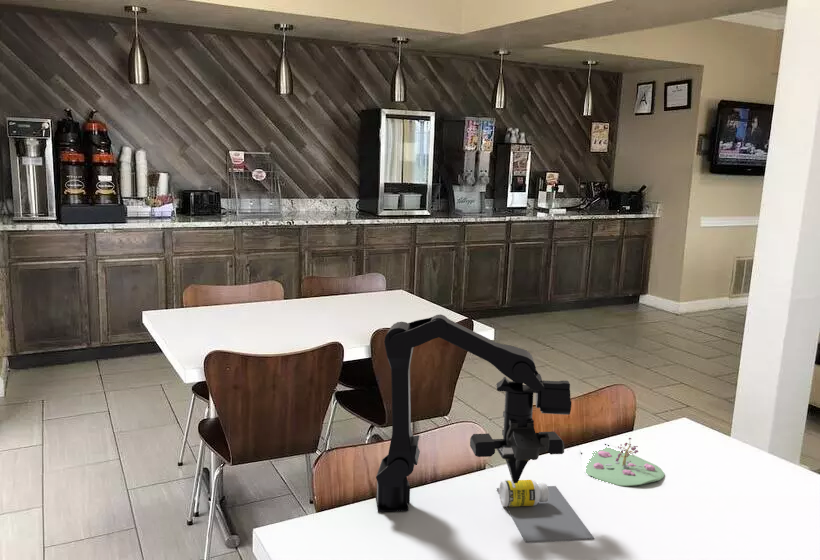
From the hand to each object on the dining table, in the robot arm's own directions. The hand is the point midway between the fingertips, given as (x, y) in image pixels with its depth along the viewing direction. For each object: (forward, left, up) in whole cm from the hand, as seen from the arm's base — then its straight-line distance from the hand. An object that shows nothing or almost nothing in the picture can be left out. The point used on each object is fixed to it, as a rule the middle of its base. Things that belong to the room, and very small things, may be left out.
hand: (514, 482), depth 139 cm
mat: (+6, 0, -7) cm, 9 cm away
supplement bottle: (-2, +3, -4) cm, 6 cm away
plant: (+33, +22, -8) cm, 40 cm away
